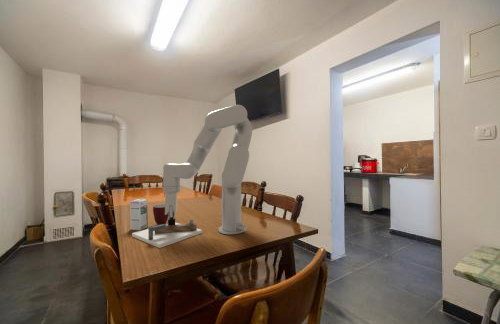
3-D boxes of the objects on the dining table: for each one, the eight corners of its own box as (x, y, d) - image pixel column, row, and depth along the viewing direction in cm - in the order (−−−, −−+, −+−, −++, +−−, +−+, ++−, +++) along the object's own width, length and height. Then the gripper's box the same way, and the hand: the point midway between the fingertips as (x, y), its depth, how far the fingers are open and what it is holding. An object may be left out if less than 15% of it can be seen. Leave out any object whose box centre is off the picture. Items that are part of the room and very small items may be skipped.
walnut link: (196, 227, 108) (196, 217, 108) (197, 230, 103) (197, 220, 103) (155, 230, 102) (155, 220, 102) (154, 234, 98) (154, 223, 98)
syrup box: (140, 230, 108) (140, 201, 108) (129, 229, 110) (129, 200, 109) (147, 227, 114) (147, 199, 114) (137, 226, 115) (137, 198, 115)
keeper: (163, 235, 97) (163, 223, 97) (165, 236, 95) (165, 225, 95) (147, 239, 93) (147, 227, 93) (149, 240, 91) (149, 228, 91)
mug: (152, 222, 123) (152, 204, 122) (168, 220, 126) (168, 203, 126) (153, 227, 113) (153, 208, 113) (169, 225, 116) (169, 206, 116)
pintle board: (201, 233, 105) (202, 229, 105) (159, 248, 87) (159, 244, 87) (173, 224, 118) (173, 222, 118) (131, 236, 100) (131, 233, 100)
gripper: (164, 187, 111) (164, 223, 111) (161, 191, 97) (161, 233, 97) (180, 187, 113) (180, 222, 113) (179, 191, 99) (179, 231, 99)
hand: (171, 227), depth 105 cm, fingers closed
